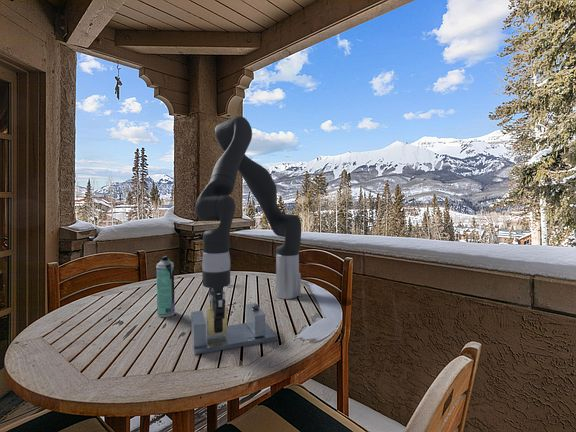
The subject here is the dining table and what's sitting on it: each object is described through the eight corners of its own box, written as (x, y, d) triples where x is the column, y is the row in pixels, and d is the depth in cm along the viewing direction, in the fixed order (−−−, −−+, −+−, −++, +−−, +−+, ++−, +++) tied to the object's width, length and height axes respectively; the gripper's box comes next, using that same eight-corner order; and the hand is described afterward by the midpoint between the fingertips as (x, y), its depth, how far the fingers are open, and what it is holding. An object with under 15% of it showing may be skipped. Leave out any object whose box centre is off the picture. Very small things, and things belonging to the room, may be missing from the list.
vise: (264, 324, 96) (264, 301, 96) (276, 340, 85) (276, 315, 85) (191, 335, 88) (190, 310, 88) (194, 354, 77) (193, 326, 77)
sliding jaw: (255, 322, 94) (255, 299, 94) (265, 335, 85) (265, 310, 84) (246, 323, 93) (246, 300, 93) (254, 337, 84) (254, 312, 83)
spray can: (178, 312, 106) (177, 255, 105) (167, 318, 101) (165, 258, 100) (165, 310, 108) (164, 254, 107) (153, 316, 103) (152, 257, 102)
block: (224, 327, 88) (224, 303, 87) (227, 332, 84) (226, 307, 83) (206, 329, 86) (206, 305, 85) (208, 335, 82) (208, 310, 82)
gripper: (235, 272, 79) (235, 337, 80) (225, 261, 92) (226, 317, 93) (205, 275, 76) (206, 342, 77) (199, 263, 89) (200, 321, 90)
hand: (217, 328), depth 85 cm, fingers closed on block, 4 cm apart
